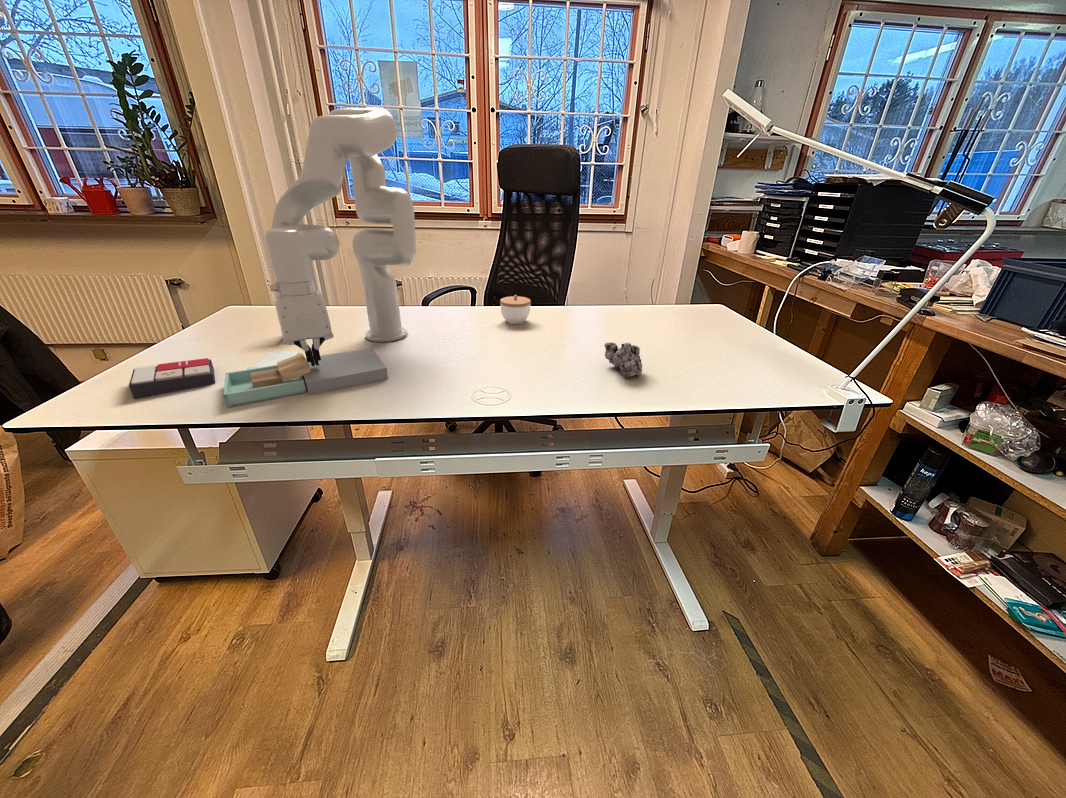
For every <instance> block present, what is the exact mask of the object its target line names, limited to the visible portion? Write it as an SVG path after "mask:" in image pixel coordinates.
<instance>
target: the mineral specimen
mask: <svg viewBox="0 0 1066 798" xmlns="http://www.w3.org/2000/svg"><path fill="white" fill-rule="evenodd" d="M603 346H604V347H605V352H604V356H605V357H604V358H605V359H607V360H608V362H609V363H610V364H611V365H613V366H614V369H616V370H619V371H620V373H621V374H622V377H623V379H625V380H626V379H628V378H629V377H635V376H641V374H642V372H643V362H642V359H641V356H640V354H641V353H640V352H641V348H640V347H639V346H638V345H633V344H631V343H630V342H628V341H627V342H623V343H621V347H618V344H616V342H606V343H604V344H603Z"/></svg>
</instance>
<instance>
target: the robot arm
mask: <svg viewBox="0 0 1066 798" xmlns="http://www.w3.org/2000/svg"><path fill="white" fill-rule="evenodd" d="M397 136H398V128H397V125H396V121H395V118H394V117H393V115H392V114H391V113H390V112H389V111H388V110H386V109H384V108H382V107H341V108H336V109H333V110H331V111H330V112H329V113H328V114H326V115H325V114H324V115H320V116H319V115H318V116H316V117H315V118H313V119H312V121H311V123H310V127H309V130H308V136H307V142H306V148H305V151H304V152H305V153H304V158H303V162H302V169H301V174H300V175H299V177H298V178H297V179H296V180H295V181H294V182H293V183H292V184H291V185H290V186H289V187H288V188H287V189H286V191H285V192H284V193H283V195H281V197H280V198H279V200H278V201H277V204H276V205H275V209H274V213H273V217H272V222H271V223H272V224H271V229H268V230H267V231H266V232H265V235H264V238H265V244H266V245H267V251H268V254H269V259H270V261H271V262H270V263H271V266H272V270H273V275H274V278H275V281H276V282H274V283H273V284H269V289H270V292H277V293H278V294H277V295H276V299H275V300H276V303H277V310H276V312H277V311H278V315H277V317H278V316H279V319H278V322H279V321H280V323H279V327H280V326H281V327H280V330H282V331H281V334H283V335H282V342H283V344H284V345H286V346H290V345H291V346H297V347H298V348H300V349H301V350H303V351H304V354H305V355H304V356H305V358H306V359H307V362H311V365H312V366H314V365H315V364H316V365H317V366H318V365H319V362H318V361H320V360H321V357H320V356H321V354H320V347H321V346H322V345H323V344H324V342H325V341H328V340H330V339H333V338H334V337H335V336H334V334H333V331H332V324H331V320H330V317H329V313H328V310H327V306H326V302H325V300H324V297H323V295H322V293H321V292H320V291H318V290H317V286H316V282H315V277H314V276H315V275H314V272H313V267H312V263H311V262H312V261H313V262H314V261H327V260H331V259H333V258H334V257H335V256H336V255H337V254H338V252H339V250H340V240H339V237H338V235H337V233H335V231H333V230H332V229H331V228H329V227H327V226H324V225H317V224H303V223H302V221H303V219H304V218H305V216H306V215H307V214H308V213H309V212H310V211H312V209H313V208H314V209H315V207H317V206H319V205H321V204H323V203H326V202H327V201H329V200H331V199H333V198H336V197H337V196H338V195H339V194H340V193H341V191H342V188H343V182H344V176H345V170H346V165H347V160H348V162H349V164H350V168H351V173H352V174H351V175H352V183H353V184H352V185H353V195H354V205H355V206H354V207H355V212H356V216H357V218H358V219H359V220H360V222H363V223H366V224H372V225H385V226H386V225H387V226H388V225H389V226H392V229H377V228H376V229H375V228H366V229H361V230H358V231H357V232H356V233H355V234H354V235H353V238H352V242H351V243H352V250H353V252H354V256H355V259H356V261H357V265H358V267H359V271H360V275H361V281H362V288H363V294H364V299H365V307H366V313H367V319H368V326H369V330H368V331H366V332H365V338H366V339H367V340H368V341H371V342H378V343H386V342H389V343H390V342H394V341H395V342H396V341H399V340H401V339H404V338H406V337H407V336H408V330H407V329H406V328H404V327H402V319H401V312H400V304H399V302H400V301H399V297H398V295H399V294H398V288H397V287H398V286H397V280H396V277H395V274H394V272H393V271H392V270H391V268H390V266H400V267H403V266H404V267H406V266H409V265H412V263H414V261H415V259H416V249H417V248H416V246H417V245H416V243H417V242H416V224H415V223H416V221H415V207H414V203H413V200H412V198H411V195H410V194H409V193H408V191H406V189H403V188H399V187H389V186H387V183H386V181H387V180H386V171H385V167H384V163H383V162H382V160H381V158H380V157H379V154H381V153H383V152H385V151H387V150H388V149H391V148H392V147H393V146H394V144H395V143H396V140H397ZM308 340H312V344H311V347H310V345H309V344H308V343H307V341H308ZM314 362H315V363H314Z"/></svg>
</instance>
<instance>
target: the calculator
mask: <svg viewBox="0 0 1066 798" xmlns="http://www.w3.org/2000/svg"><path fill="white" fill-rule="evenodd" d="M206 385H207V386H211V385H216V376H215V368H214V364H213V361H212V359H209V358H207V357H206V358H199V359H192V360H191V359H190V360H182V361H172V362H165V363H159V364H157V365H149V366H140V367H139V366H138V367H135V368H133V369H132V374H131V377H130V380H129V383H128V387H129V390H130V392H131V395H132V398H133V400H139V399H144V398H148V397H154V396H158V395H160V394H165V393H170V392H172V393H173V392H178V391H184V390H185V391H186V390H189V389H190V390H191V389H195V388H200V387H207V386H206Z"/></svg>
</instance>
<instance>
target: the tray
mask: <svg viewBox="0 0 1066 798" xmlns="http://www.w3.org/2000/svg"><path fill="white" fill-rule="evenodd" d="M277 368H278V366H277V365H273V366H266V367H260V368H254V369H248V368H247V369H248V370H246V369H243V370H237V371H230V372H225V374H224V375H225V377H224V386H223V394H222V395H223V398H224V401H225V404H226V407H227V408H232V407H239V406H244V405H250V404H254V403H259V402H264V401H270V400H274V399H279V398H285V397H289V396H294V395H295V396H296V395H300V394H306V393H308V390H307V387H306V383H305V379H304V376H303V375H302V376H299V377H297V378H294V379H291V380H289V381H286V382H285V381H284V379H283V382H284V383H283V384H277V385H272V386H266V387H260V388H255V389H254V388H253V385H252V380H251V373H253V372H259V371H265V370H271V369H277Z"/></svg>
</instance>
